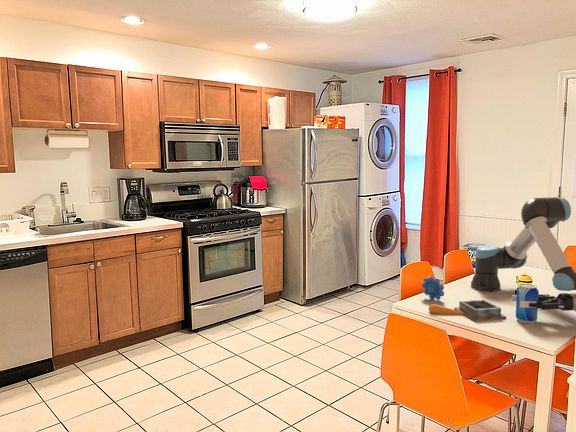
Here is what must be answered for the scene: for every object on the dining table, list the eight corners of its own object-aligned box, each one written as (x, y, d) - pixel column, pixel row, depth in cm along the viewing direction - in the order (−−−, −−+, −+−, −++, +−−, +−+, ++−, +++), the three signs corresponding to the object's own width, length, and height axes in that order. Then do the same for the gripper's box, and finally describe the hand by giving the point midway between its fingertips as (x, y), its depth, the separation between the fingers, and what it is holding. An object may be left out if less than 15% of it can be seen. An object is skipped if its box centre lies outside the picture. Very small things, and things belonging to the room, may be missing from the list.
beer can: (528, 325, 193) (531, 289, 191) (511, 319, 201) (513, 284, 199) (541, 322, 197) (543, 286, 195) (523, 316, 205) (525, 282, 203)
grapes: (418, 299, 230) (419, 276, 228) (422, 296, 235) (423, 274, 234) (441, 303, 223) (442, 280, 222) (445, 300, 229) (446, 277, 227)
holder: (484, 307, 217) (484, 298, 217) (506, 318, 202) (506, 309, 201) (454, 309, 214) (454, 300, 214) (473, 321, 199) (474, 311, 198)
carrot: (428, 315, 210) (430, 307, 208) (428, 308, 214) (429, 301, 211) (473, 322, 206) (475, 315, 203) (472, 316, 209) (474, 308, 207)
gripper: (582, 318, 187) (526, 317, 188) (556, 302, 207) (506, 301, 209) (584, 301, 186) (527, 300, 187) (558, 287, 206) (507, 286, 208)
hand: (516, 301), depth 198 cm, fingers closed on beer can, 8 cm apart
